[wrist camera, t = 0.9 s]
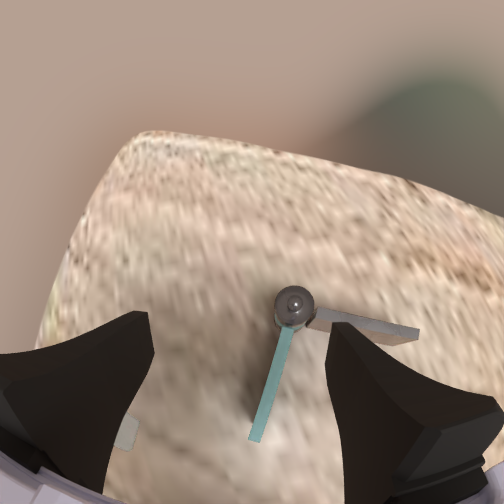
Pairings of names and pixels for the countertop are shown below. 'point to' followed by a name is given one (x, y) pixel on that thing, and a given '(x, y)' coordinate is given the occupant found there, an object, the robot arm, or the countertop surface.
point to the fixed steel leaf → (335, 318)
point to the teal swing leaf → (272, 382)
